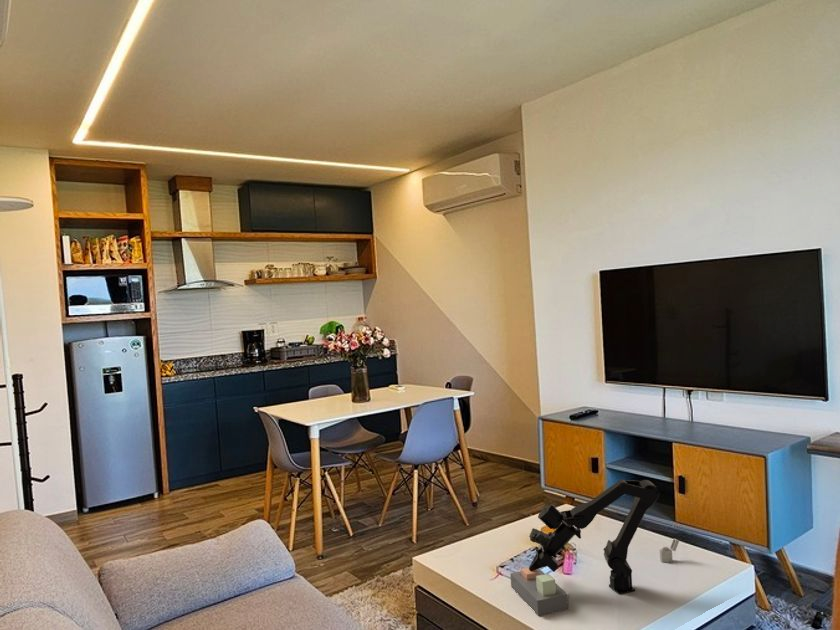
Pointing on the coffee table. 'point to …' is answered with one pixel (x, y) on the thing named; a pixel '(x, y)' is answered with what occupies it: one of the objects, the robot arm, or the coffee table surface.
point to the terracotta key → (529, 574)
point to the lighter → (668, 552)
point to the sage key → (545, 584)
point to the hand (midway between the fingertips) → (529, 569)
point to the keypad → (539, 595)
